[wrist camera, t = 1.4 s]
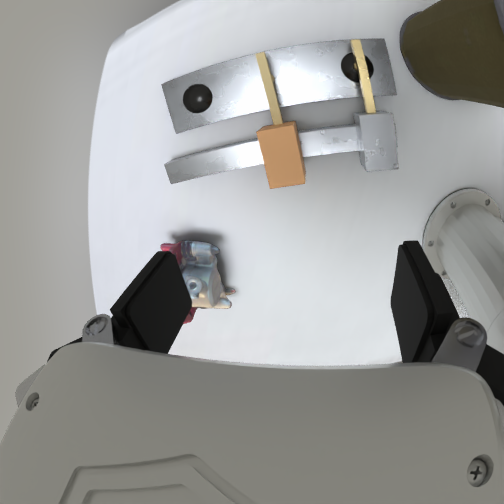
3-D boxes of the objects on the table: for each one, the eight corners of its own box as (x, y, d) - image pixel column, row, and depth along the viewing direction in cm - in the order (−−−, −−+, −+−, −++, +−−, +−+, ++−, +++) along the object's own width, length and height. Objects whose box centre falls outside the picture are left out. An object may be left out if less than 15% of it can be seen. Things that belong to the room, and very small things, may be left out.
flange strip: (381, 40, 18) (384, 38, 17) (393, 94, 21) (397, 94, 20) (165, 84, 25) (160, 84, 24) (179, 132, 28) (175, 134, 27)
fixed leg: (367, 42, 18) (375, 35, 15) (387, 159, 24) (398, 169, 21) (336, 44, 19) (341, 36, 16) (359, 161, 24) (366, 171, 22)
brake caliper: (134, 236, 34) (145, 287, 24) (211, 212, 37) (251, 252, 28) (156, 301, 40) (176, 360, 30) (222, 278, 43) (258, 328, 34)
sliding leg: (278, 52, 20) (272, 43, 16) (305, 168, 26) (305, 183, 22) (247, 59, 21) (234, 52, 17) (276, 172, 27) (270, 188, 23)
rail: (389, 121, 23) (394, 123, 21) (391, 143, 24) (397, 147, 22) (172, 159, 29) (164, 164, 28) (178, 178, 31) (170, 184, 29)
